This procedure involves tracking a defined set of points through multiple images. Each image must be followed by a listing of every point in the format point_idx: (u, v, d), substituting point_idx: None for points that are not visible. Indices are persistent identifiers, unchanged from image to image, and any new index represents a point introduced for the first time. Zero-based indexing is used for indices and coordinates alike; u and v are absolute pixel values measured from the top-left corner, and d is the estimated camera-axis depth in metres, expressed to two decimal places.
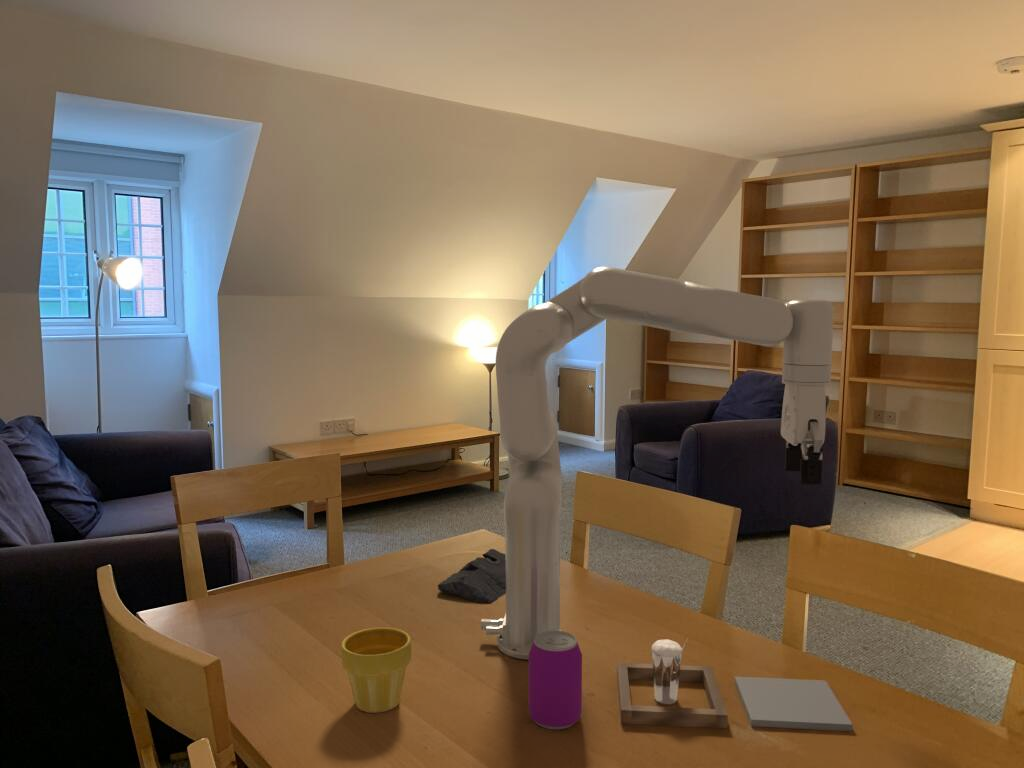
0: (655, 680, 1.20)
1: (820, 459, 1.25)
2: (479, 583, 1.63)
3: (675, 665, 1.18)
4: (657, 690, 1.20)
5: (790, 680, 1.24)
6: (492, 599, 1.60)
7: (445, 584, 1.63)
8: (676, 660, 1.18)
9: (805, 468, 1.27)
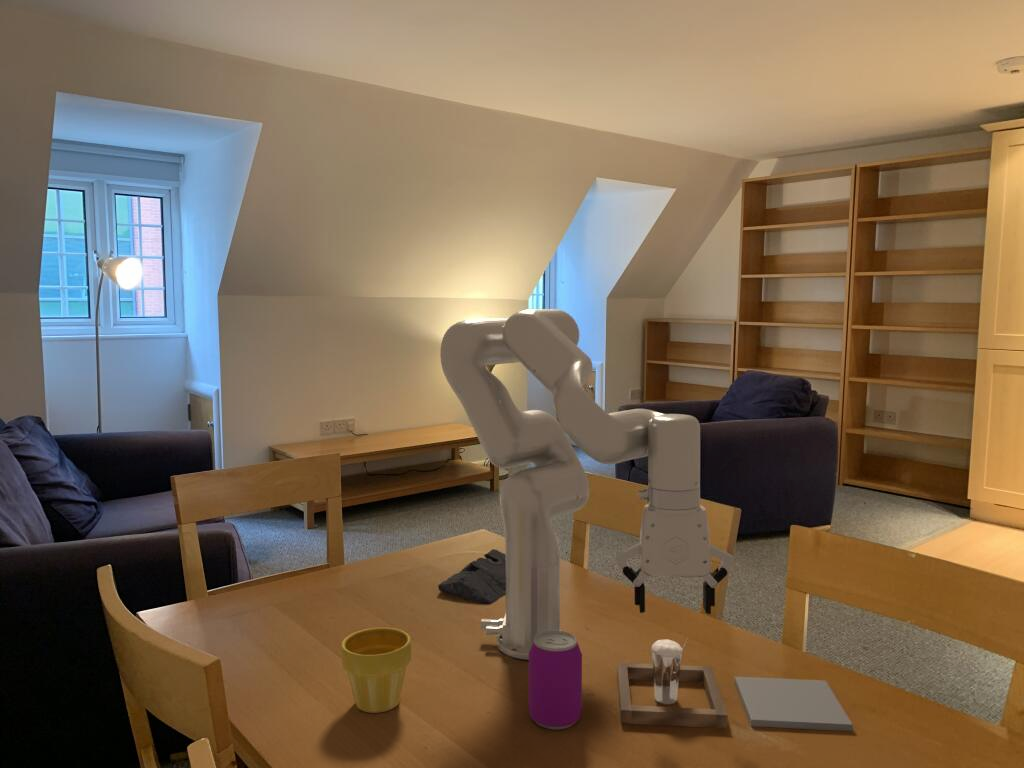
0: (655, 680, 1.20)
1: None
2: (479, 584, 1.63)
3: (675, 665, 1.18)
4: (657, 690, 1.20)
5: (790, 680, 1.24)
6: (492, 600, 1.60)
7: (445, 584, 1.63)
8: (676, 660, 1.18)
9: None
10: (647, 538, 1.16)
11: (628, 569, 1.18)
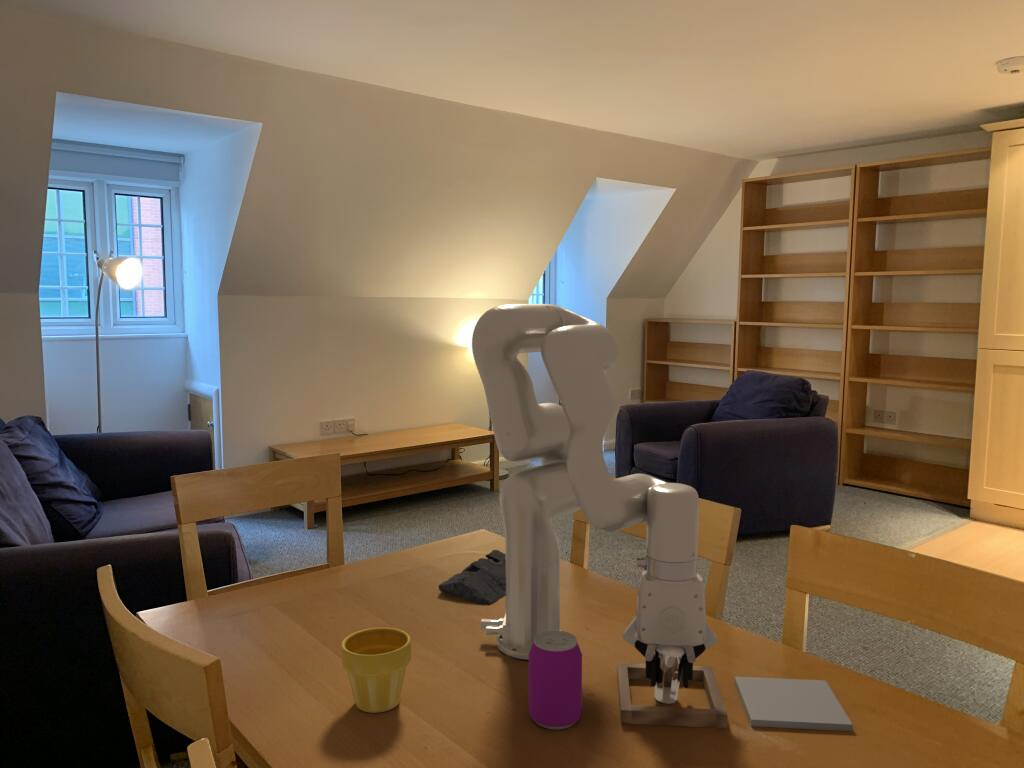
0: (656, 679, 1.20)
1: None
2: (480, 585, 1.63)
3: (678, 665, 1.18)
4: (658, 689, 1.20)
5: (790, 680, 1.24)
6: (492, 600, 1.59)
7: (446, 585, 1.63)
8: (679, 660, 1.18)
9: None
10: (644, 607, 1.17)
11: (640, 643, 1.19)
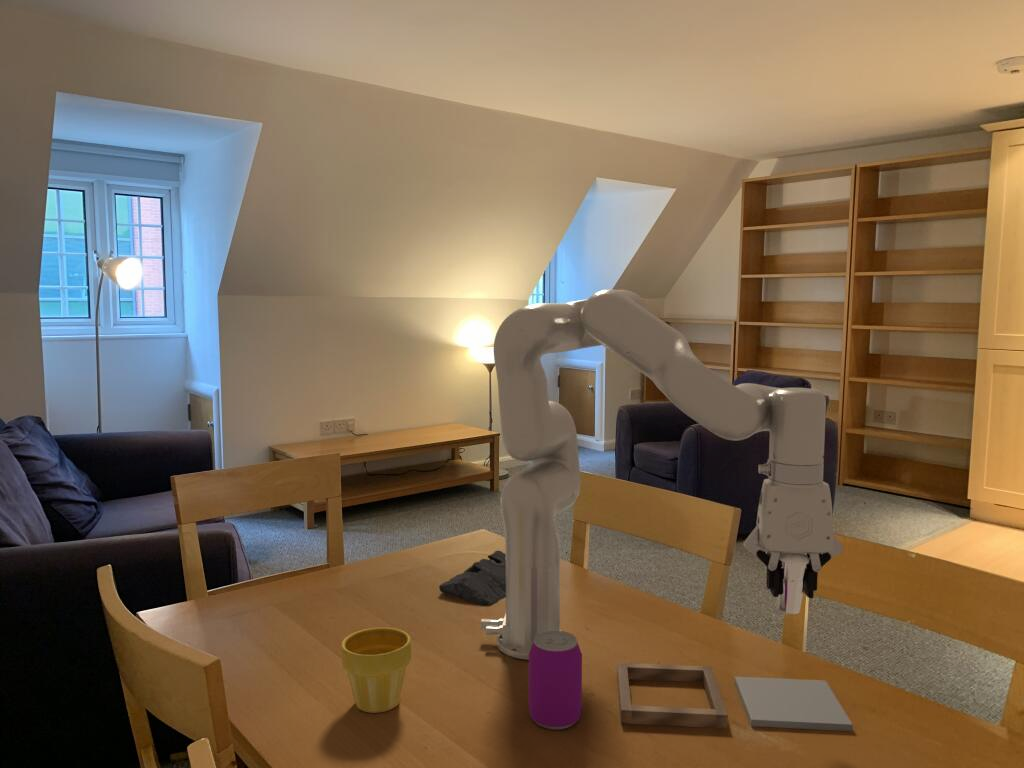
0: None
1: None
2: (480, 585, 1.62)
3: (803, 573, 1.15)
4: (781, 599, 1.16)
5: (790, 680, 1.24)
6: (492, 601, 1.59)
7: (446, 585, 1.62)
8: (804, 568, 1.15)
9: None
10: (769, 513, 1.14)
11: (763, 552, 1.16)
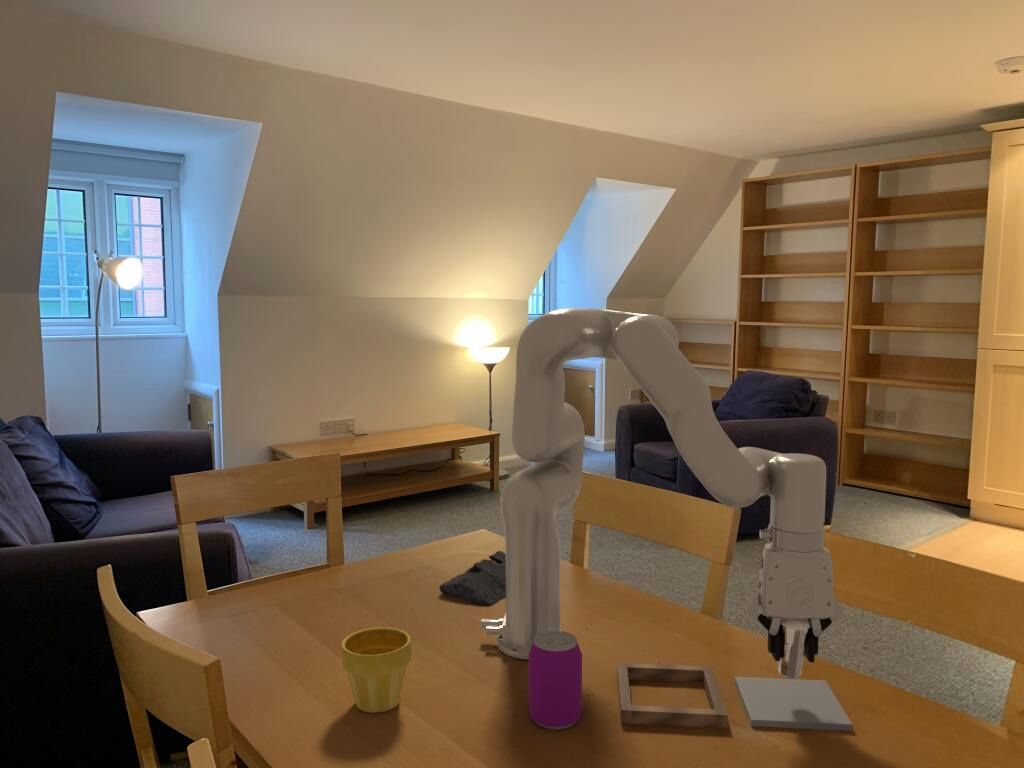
0: None
1: None
2: (480, 586, 1.62)
3: (804, 638, 1.16)
4: (782, 663, 1.17)
5: (790, 680, 1.24)
6: (492, 602, 1.58)
7: (446, 585, 1.62)
8: (805, 633, 1.16)
9: None
10: (770, 579, 1.15)
11: (764, 617, 1.17)
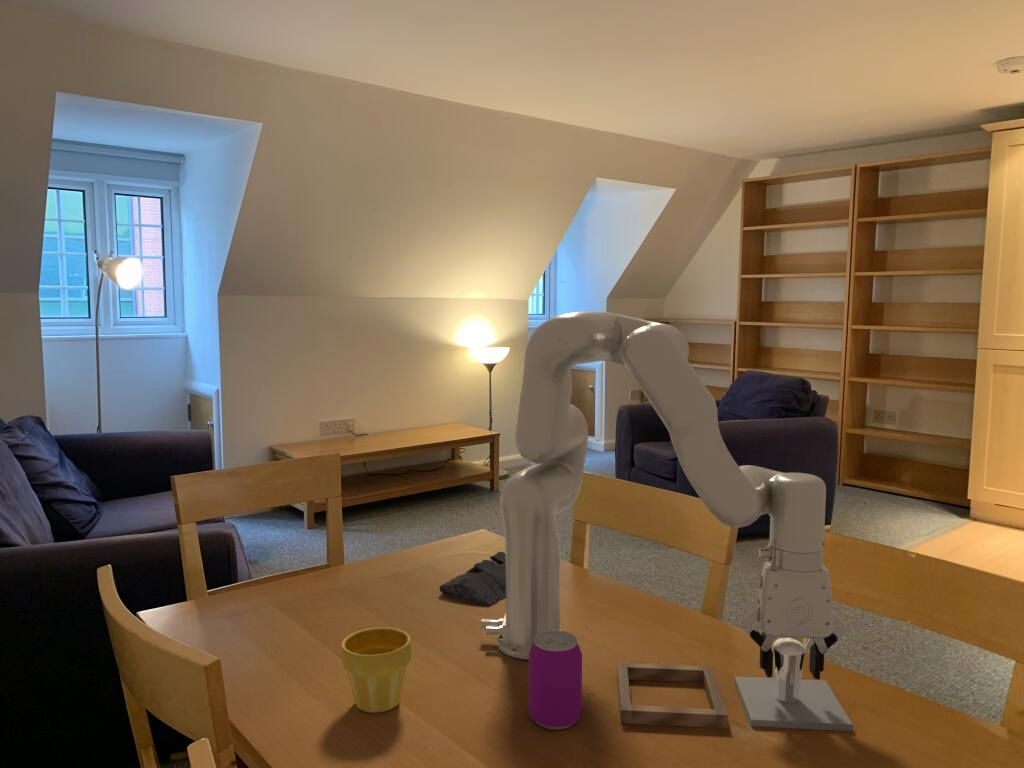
0: (777, 679, 1.18)
1: None
2: (480, 586, 1.62)
3: (800, 663, 1.16)
4: (780, 689, 1.18)
5: None
6: (492, 603, 1.58)
7: (446, 586, 1.62)
8: (800, 658, 1.16)
9: None
10: (769, 598, 1.15)
11: (756, 633, 1.17)
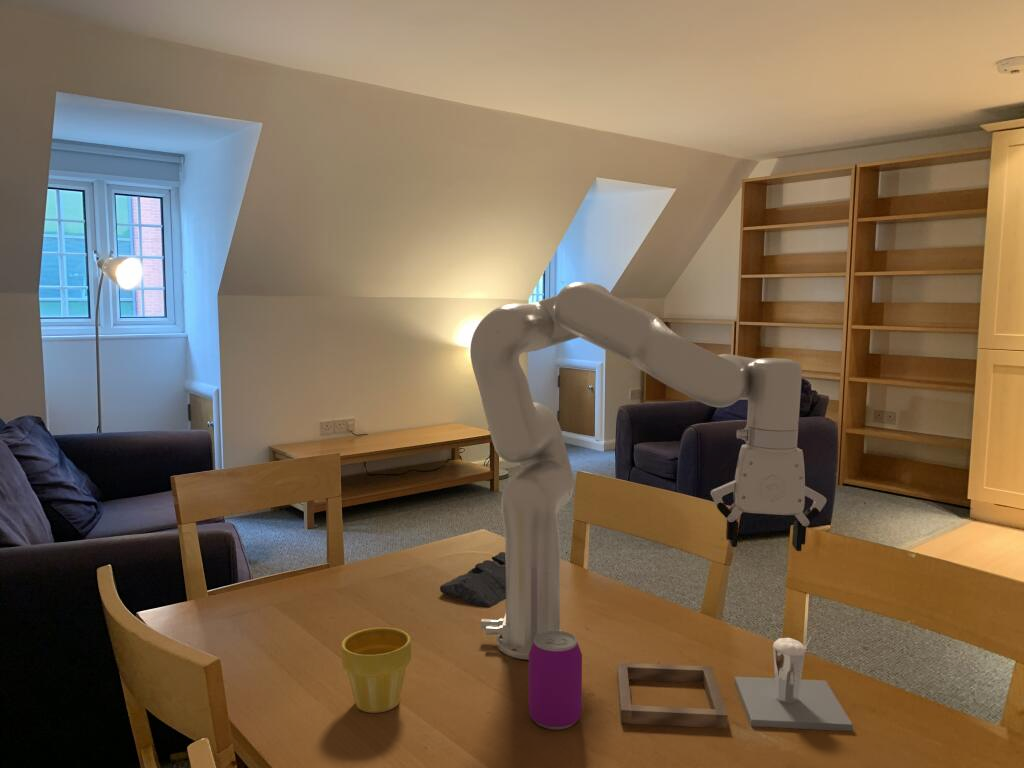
0: (777, 679, 1.18)
1: None
2: (480, 587, 1.61)
3: (800, 663, 1.16)
4: (780, 689, 1.18)
5: None
6: (492, 603, 1.58)
7: (447, 586, 1.62)
8: (800, 659, 1.16)
9: None
10: (744, 475, 1.20)
11: (723, 505, 1.23)
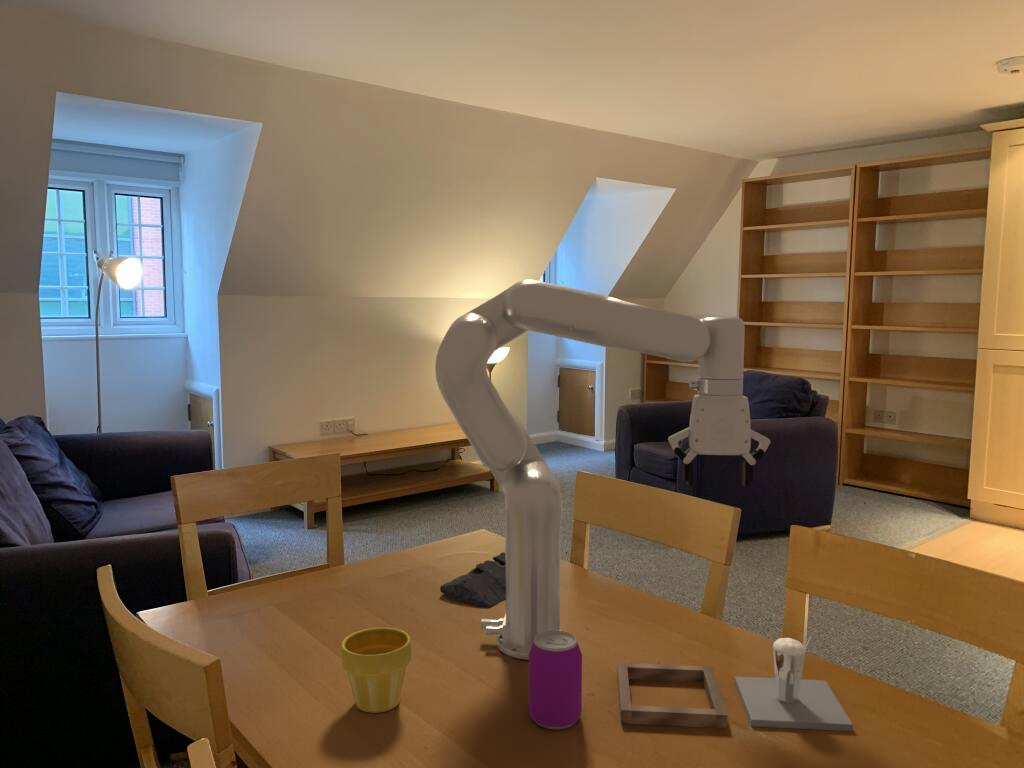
0: (777, 679, 1.18)
1: None
2: (481, 587, 1.61)
3: (800, 663, 1.16)
4: (780, 689, 1.18)
5: None
6: (491, 604, 1.57)
7: (447, 586, 1.62)
8: (800, 659, 1.16)
9: None
10: (697, 421, 1.35)
11: (679, 449, 1.38)
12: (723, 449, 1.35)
